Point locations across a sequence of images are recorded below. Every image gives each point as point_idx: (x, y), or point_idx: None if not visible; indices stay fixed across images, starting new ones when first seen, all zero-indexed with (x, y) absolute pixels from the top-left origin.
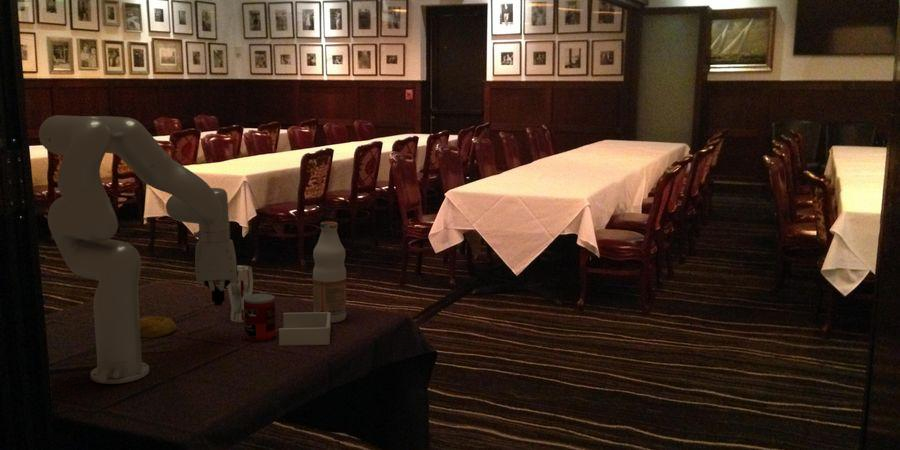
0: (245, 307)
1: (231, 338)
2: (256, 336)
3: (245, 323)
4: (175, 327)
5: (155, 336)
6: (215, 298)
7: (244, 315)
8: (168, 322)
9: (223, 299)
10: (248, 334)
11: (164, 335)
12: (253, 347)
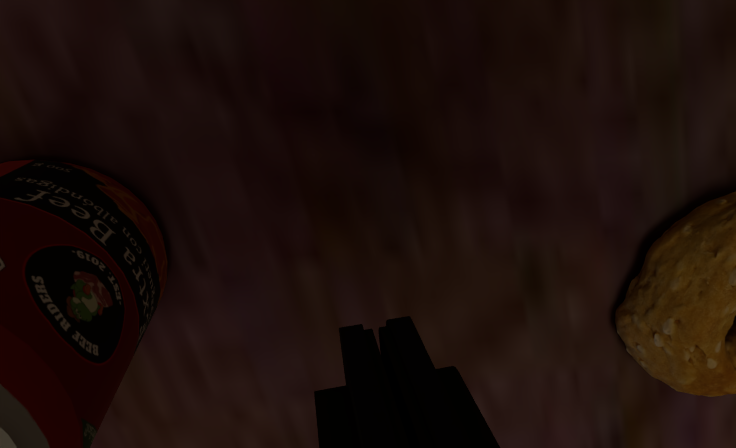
0: (12, 315)
1: (257, 214)
2: (22, 163)
3: (103, 241)
4: (629, 317)
5: (717, 198)
6: (416, 369)
7: (91, 290)
8: (695, 307)
9: (317, 401)
10: (97, 185)
11: (668, 231)
12: (8, 16)
